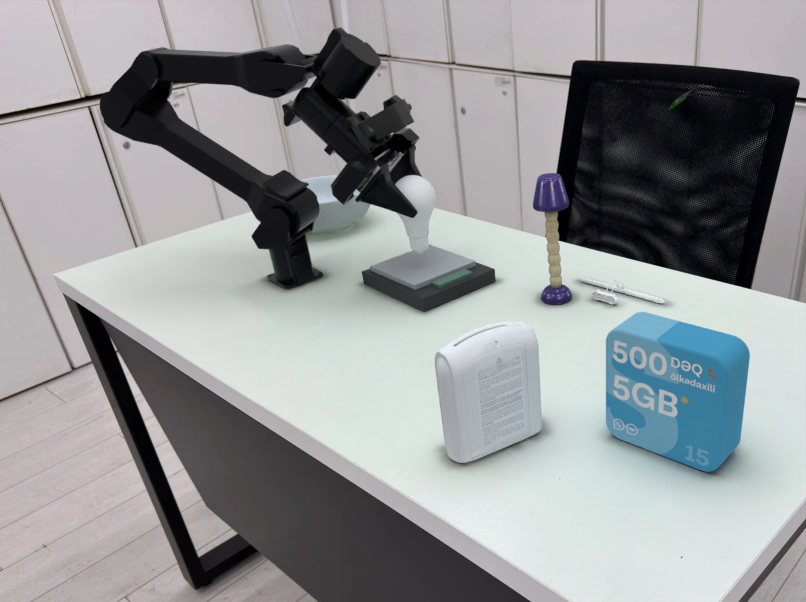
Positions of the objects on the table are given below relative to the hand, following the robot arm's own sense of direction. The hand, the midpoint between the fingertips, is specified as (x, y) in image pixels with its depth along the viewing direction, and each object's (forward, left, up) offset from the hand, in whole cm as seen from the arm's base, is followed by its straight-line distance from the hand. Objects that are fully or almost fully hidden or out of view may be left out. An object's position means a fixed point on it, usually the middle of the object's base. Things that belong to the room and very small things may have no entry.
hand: (423, 208), depth 102 cm
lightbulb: (-1, -1, -7) cm, 7 cm away
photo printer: (+36, -20, -12) cm, 43 cm away
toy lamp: (+17, +8, -12) cm, 22 cm away
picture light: (+23, +13, -12) cm, 29 cm away
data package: (+49, -9, -12) cm, 51 cm away
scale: (-1, 0, -11) cm, 11 cm away
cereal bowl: (-36, +4, -12) cm, 38 cm away
